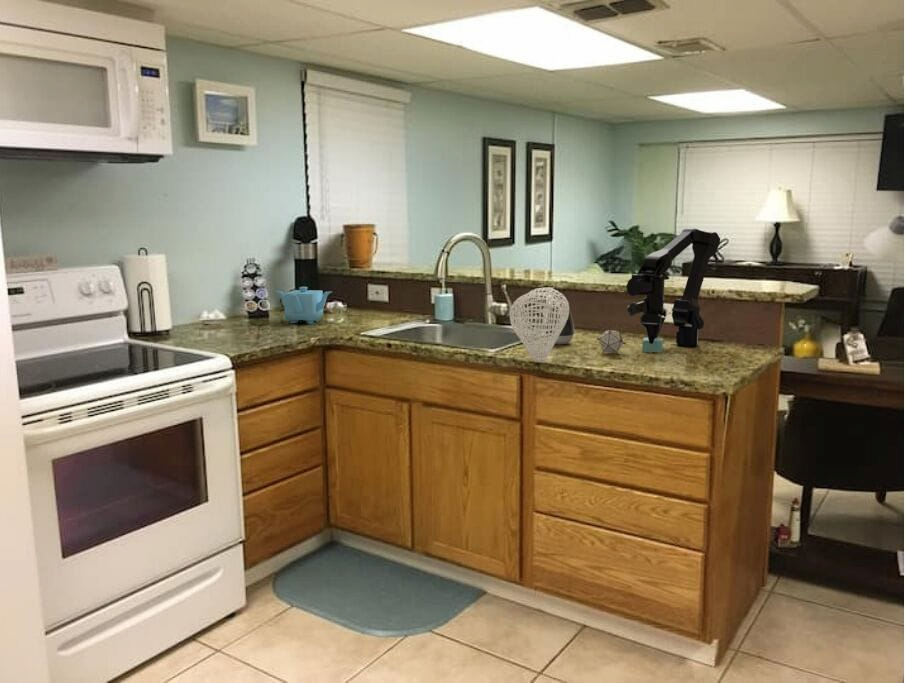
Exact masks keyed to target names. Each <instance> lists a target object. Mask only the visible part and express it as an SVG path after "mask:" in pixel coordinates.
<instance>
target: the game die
mask: <svg viewBox="0 0 905 683" xmlns="http://www.w3.org/2000/svg"><path fill="white" fill-rule="evenodd" d="M621 330H622V329H618V330H611V329H607V328H606V327H605V328H604V332H603V333H602V335H601V336H600V338H599V337H597V338H596V340H598V341H599V343H600V346H601V349H602V351H601V354H604V352H606V353H616V355H619V350H620V349H621V348H622V346H623V345H627V343H626V342H624V341H623V337H622V335H621Z"/></svg>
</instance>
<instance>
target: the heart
mask: <svg viewBox="0 0 905 683" xmlns="http://www.w3.org/2000/svg"><path fill="white" fill-rule="evenodd" d="M558 301H559V302H558ZM554 302H555V303H554ZM561 302H562V303H561ZM549 303H550V304H549ZM529 304H531V305H530V306H529ZM534 304H535V305H534ZM553 304H555V305H553ZM560 304H561V305H560ZM525 305H526V306H525ZM563 305H564V306H563ZM554 306H555V307H554ZM561 306H562V307H561ZM538 307H539V308H538ZM542 307H543V309H542ZM551 307H552V311H551ZM556 307H558V309H557V308H556ZM564 307H565V308H564ZM566 307H567V309H566ZM553 308H554V312H553ZM564 309H565V310H564ZM569 309H570V304H569V301H568V299H567V297H566V296H565V295H564V294H563V293H561V291H559V290H557V289H554V288H552V287H540V288H539V287H538V288H534V289H532V290H530V291H529V292H527V293H525V294H523V295H521V296H519V297H518V298H517V299H516V300H514V301H513V303H512V304H511V307H510V310H509V321H510V322H509V323H510V325H511V328H512V330H514V333H515V334H516V336H517V337H518V339H519V340H520V341H521V342H522V345H523V346H524V347H525V349H526V351H527V352H528V353H529V355H530V356H531V358H532V359H533V360H534V361H535V363H536V362H537V363H542V362H544V361H545V359H546V358H547V357H548V356H549V353H550V352H551V351H552V349H553V347H554V345H555V342H556V340H557V339H558V337H559V335H560V333H561V331H562V329H563V328H564V326H565V324H566V321H567V319H568V316H569ZM556 310H557V312H556ZM563 311H564V313H563ZM537 313H538V314H539V316H537ZM542 313H543V316H542ZM546 313H547V316H546ZM548 313H549V318H548ZM550 313H551V318H550ZM552 313H553V314H554V315H553V318H552ZM556 314H557V318H556ZM559 315H560V319H559ZM565 315H566V316H565ZM548 319H549V320H548ZM550 319H551V323H552V320H553V323H552V324H551V323H550ZM533 320H534V322H533ZM537 320H538V322H537ZM546 320H547V323H548V324H546ZM555 320H557V321H556V324H555ZM558 321H559V323H558ZM553 325H554V326H555V328H554V326H553ZM533 326H534V327H533ZM545 326H546V329H545ZM547 326H548V329H547ZM549 326H550V329H549ZM551 326H552V329H551ZM558 326H559V327H558ZM551 330H552V333H550V331H551ZM546 331H548V334H546ZM554 332H555V333H554ZM550 335H551V336H550ZM546 336H548V338H546ZM552 336H553V337H552ZM554 338H555V339H554ZM548 339H549V340H548ZM551 340H552V341H551Z"/></svg>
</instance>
